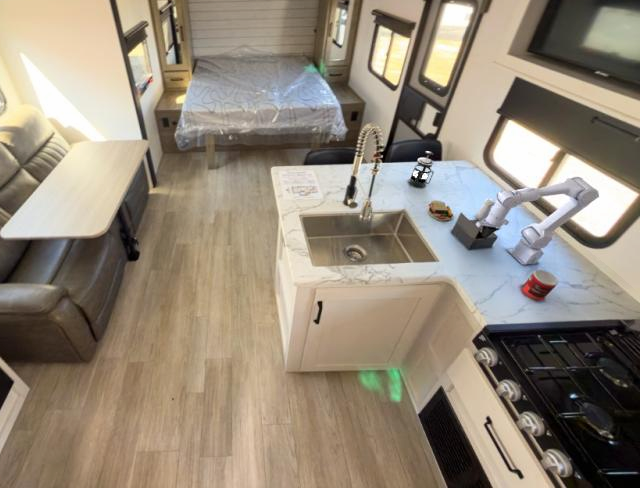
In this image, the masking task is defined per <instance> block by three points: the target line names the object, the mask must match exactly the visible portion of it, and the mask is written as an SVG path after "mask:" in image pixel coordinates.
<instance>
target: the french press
mask: <svg viewBox="0 0 640 488" xmlns="http://www.w3.org/2000/svg"><path fill="white" fill-rule="evenodd" d="M424 154H426V155H427V156H426V157H418V158H417V164H415V165H414V167H413V171H412V174H411V176H410V179H409V180H408V184H409V185H411V186H412V187H414V188H418V189H421V188H425V186H426V184H427V185H429V184H430V183H431V181H432V178H433V176H434V173H435V171H434V170H432V167H433V165H434V164H435V162H434V160H432V159H431V158H429V156H432V155H434V153H433V152H432V151H428V150H426V151H425V153H424ZM417 167H422V169H421V170H420V169H418V168H417ZM427 169H428V170H429V171H426V170H427ZM430 174H431V175H430ZM429 176H430V177H429ZM428 179H429V181H428Z"/></svg>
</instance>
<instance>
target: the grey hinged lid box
mask: <svg viewBox="0 0 640 488" xmlns="http://www.w3.org/2000/svg"><path fill="white" fill-rule="evenodd" d="M469 220H470V221H471V222H472V223H473V224H474V225H475V226H476V223H477V222H479V221H480V220H479V219H476V218H475V219H469ZM476 227H477V226H476ZM477 228H478V229H479V230H480V231H479V233H478V234H477V236H476V238H475V239H473V238H472V237H471V236H470V235H469V234H468V233H467V232H466V231H465V230H464V229H463V228H462V227H461V226H460V225H459V224H458V223H457V222H455V223H454V225H453V227H452V229H451V233H452V234H453V235H454V236H455V237H456V238H457V239H458V240H459V241H460V242H461V243H462V245H464V247H466V249H467V250H475V249H484V248H492V247H493V245H494V244H495V242H496V241H497V239H498V235H497V234H496V233H495V232H493V233H492V234H491V235H489V236H488V237H486V238H484V237H483V236H482V229H483V228H482V226H481V227H477Z"/></svg>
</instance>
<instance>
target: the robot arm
mask: <svg viewBox="0 0 640 488" xmlns="http://www.w3.org/2000/svg"><path fill="white" fill-rule="evenodd" d="M557 195H564V196H567V197H569V199H568V200H567V201H566V202H565V203H564V204H563V205H561V206H559V208H557V209H556V210H555V211H554V212H552V213H551V214H549V216H547V217H546V218H544V219H543V220H542V221H540V222H539V223H535V222H533V223H531V224H529V225H527V226H525V227H523V228H522V229H521V230H520V234H521V236H520V239H519V241H518V242H517V244H516V245H515V246H514V248H509V249H507V252H508V253H509V254H511V256H512V257H513V258H515V259H516V260H517V261H518V262H519V263H520V264H522V265H523V266H524V265H533V264H538V261H539V260H540V259H542V256H543V255H544V251H543V250H542V249H544V248H546V247H547V246H548V245H549V244H550V242H551V241H552V240H553V232H554V231H556V230H557V229H559V228H560V227H561V226H563V225H564V224H565V223H567V222H568V221H569V220H570V219H572V218H573V217H574V216H576V215H577V214H579V213H580V212H581V211H582V210H583V209H585V208H586V207H588V206H589V205H590V204H592V203H593V202H594V201H595V200H597V199H598V198H600V192H599V190H598V189H596V188H594V186H592V185H591V184H590V183H588V182H587V181H585V180H584V179H583V178H582V177H580V176H573V177H569V178H568V177H567V178H565V179H564V180H563V181H562V182H558V183H555V184H551V185H547V186H543V187H539V188H535V187H531V186H530V187H526V188H525V187H524V188H521V189H515V190H508V189H504V190H501V191H499V192H498V193H497V194H496V196H495V197H496V200H495V204H494V205H493V206H492V207H491V210H490V213H489V215H488V217H487V218H485V219H483V220H481V221H479V222H477V223H476V226H477V227H481V226H482V228H483V229H482V236H483V237H484V238H486V237H488V236H489V235H491V234H492V233H495V232H497V231H499V230H500V229H502V226H508V224H509V223H510V221H509V220H508V219H507V218H506V217H507V216H508V214H509V212H510V211H511V210H512V209H513V208H516V207H517V206H519V205H521V204H523V203H529V202H534V201H537V200H539V198H542V197H550V196H557Z"/></svg>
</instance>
